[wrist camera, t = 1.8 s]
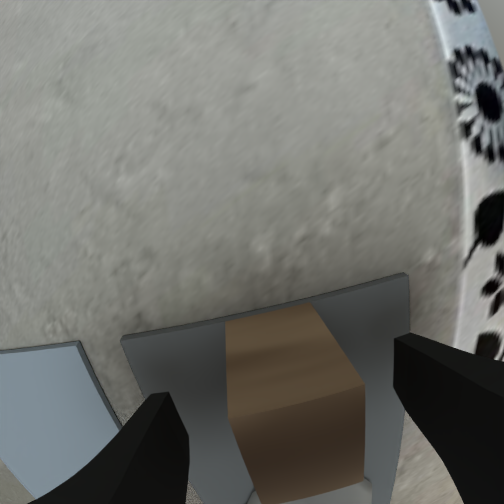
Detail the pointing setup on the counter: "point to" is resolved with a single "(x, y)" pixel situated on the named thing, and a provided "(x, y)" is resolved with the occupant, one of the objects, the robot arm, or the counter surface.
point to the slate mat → (51, 414)
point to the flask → (334, 496)
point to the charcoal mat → (208, 384)
